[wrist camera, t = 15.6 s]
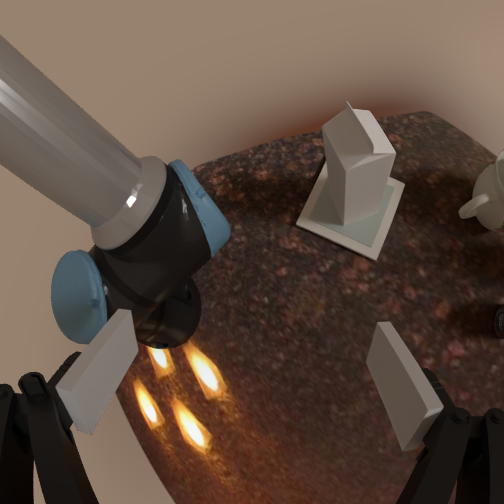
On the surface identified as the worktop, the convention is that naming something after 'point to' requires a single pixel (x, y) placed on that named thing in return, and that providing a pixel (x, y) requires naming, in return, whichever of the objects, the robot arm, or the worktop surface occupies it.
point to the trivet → (356, 233)
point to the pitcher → (488, 197)
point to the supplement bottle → (499, 322)
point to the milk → (356, 163)
